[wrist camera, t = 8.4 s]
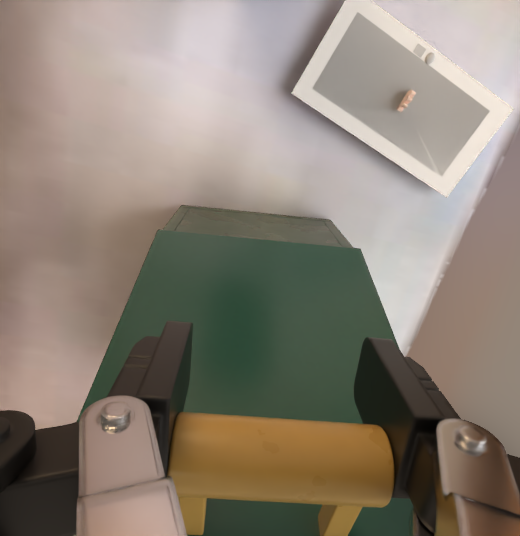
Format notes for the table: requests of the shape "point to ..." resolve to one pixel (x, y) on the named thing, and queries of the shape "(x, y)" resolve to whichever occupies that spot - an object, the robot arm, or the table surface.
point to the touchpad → (400, 95)
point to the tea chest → (256, 226)
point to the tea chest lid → (267, 386)
